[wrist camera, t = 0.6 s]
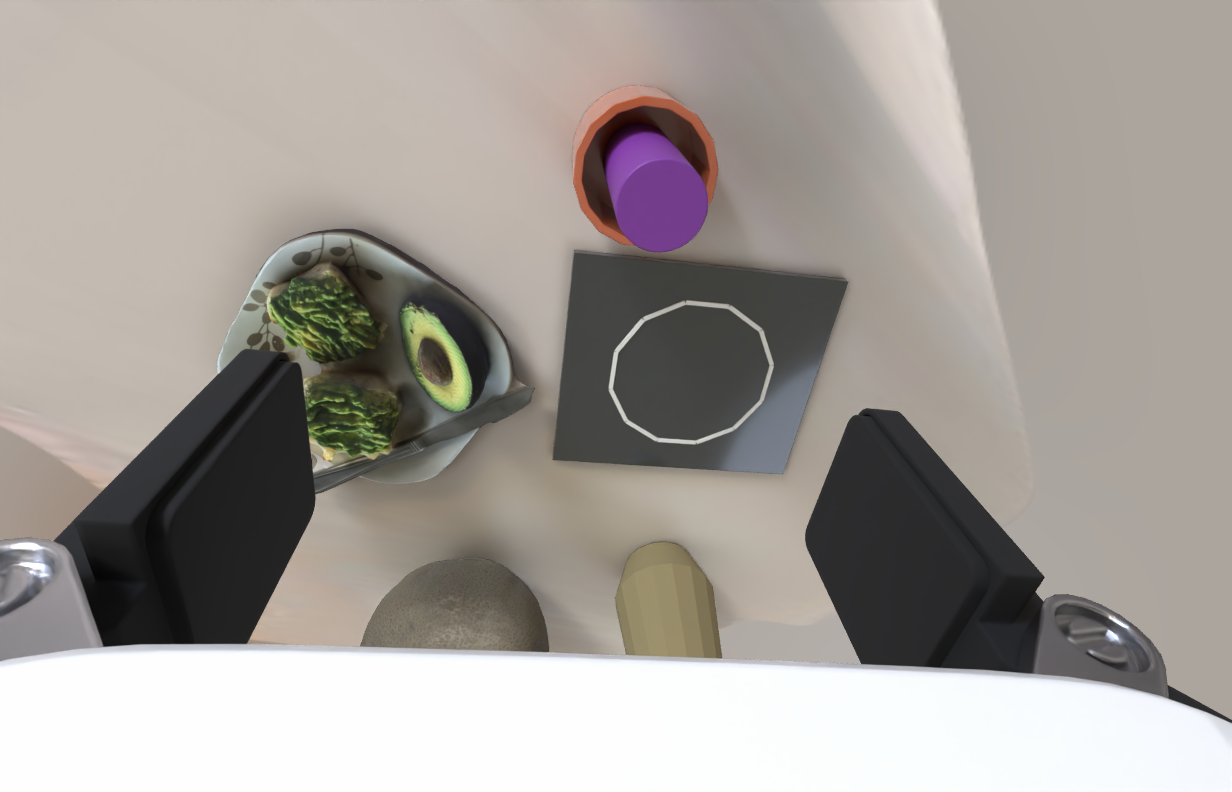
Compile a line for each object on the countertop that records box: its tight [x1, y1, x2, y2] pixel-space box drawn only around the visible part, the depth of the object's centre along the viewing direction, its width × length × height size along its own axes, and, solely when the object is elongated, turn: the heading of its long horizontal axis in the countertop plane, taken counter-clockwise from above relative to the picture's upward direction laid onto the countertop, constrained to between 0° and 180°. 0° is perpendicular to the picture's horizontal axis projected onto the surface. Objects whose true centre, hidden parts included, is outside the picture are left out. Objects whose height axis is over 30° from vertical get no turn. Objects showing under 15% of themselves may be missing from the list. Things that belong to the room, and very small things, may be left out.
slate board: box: [553, 250, 848, 474], centre depth 44 cm, size 16×18×1 cm
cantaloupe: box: [360, 557, 549, 652], centre depth 47 cm, size 14×14×15 cm
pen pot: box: [572, 85, 718, 246], centre depth 34 cm, size 7×7×6 cm
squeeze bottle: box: [615, 542, 722, 659], centre depth 47 cm, size 8×8×18 cm
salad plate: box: [217, 229, 535, 494], centre depth 41 cm, size 19×18×5 cm
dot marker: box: [603, 122, 708, 252], centre depth 31 cm, size 4×4×11 cm
